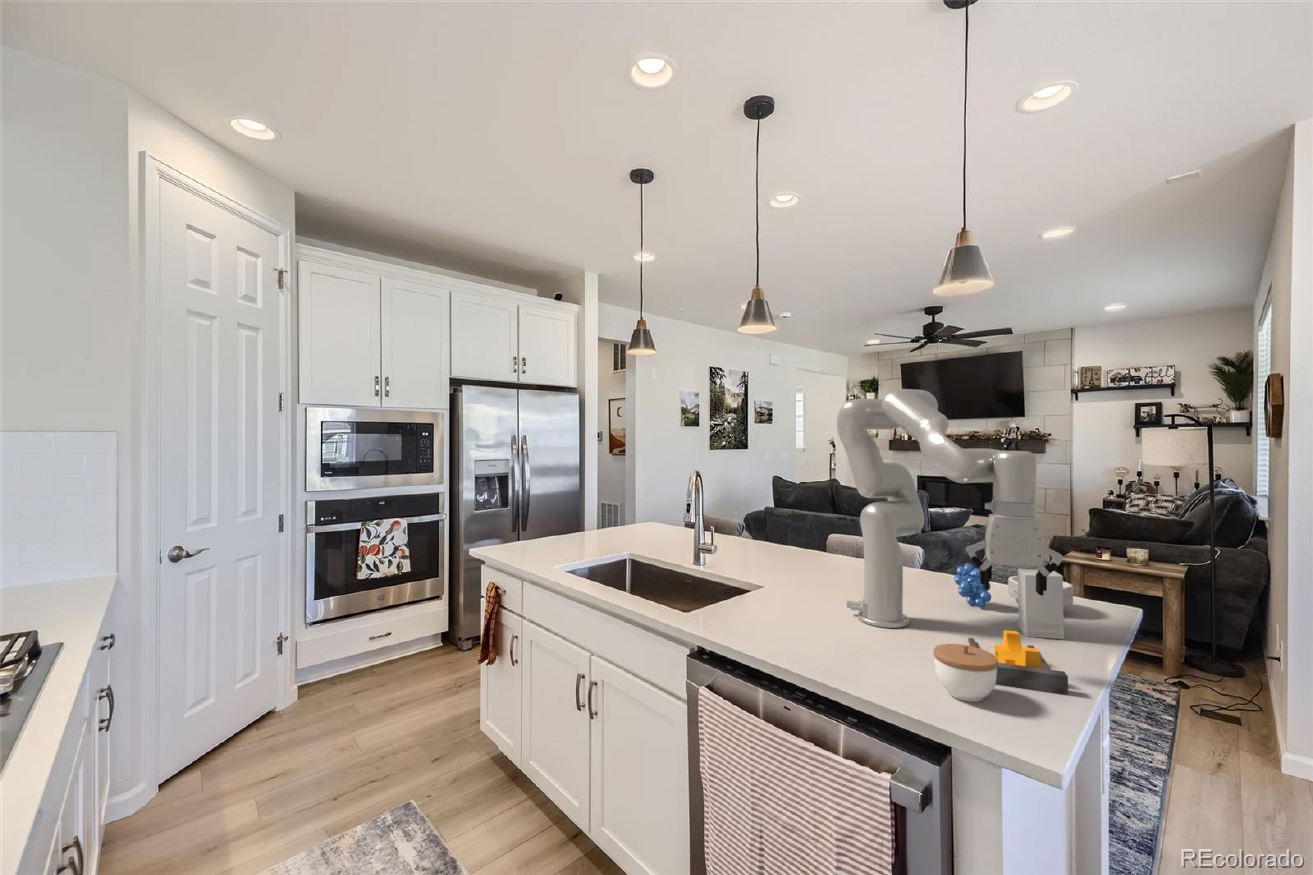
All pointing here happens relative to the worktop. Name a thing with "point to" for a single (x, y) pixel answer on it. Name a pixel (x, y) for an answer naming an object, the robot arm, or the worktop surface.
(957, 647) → the lidded jar
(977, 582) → the grapes
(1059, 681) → the rail
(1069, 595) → the paper bowls
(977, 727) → the worktop surface
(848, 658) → the worktop surface
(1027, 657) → the pipe clamp
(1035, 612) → the skincare box
